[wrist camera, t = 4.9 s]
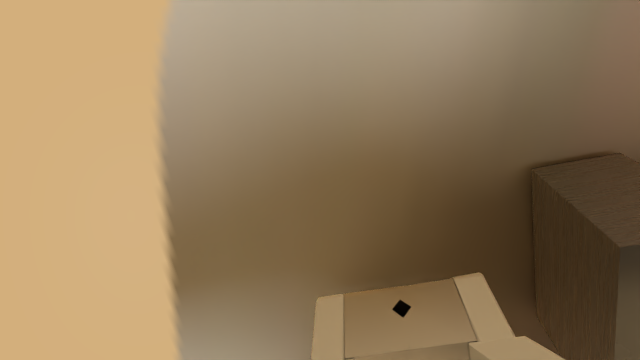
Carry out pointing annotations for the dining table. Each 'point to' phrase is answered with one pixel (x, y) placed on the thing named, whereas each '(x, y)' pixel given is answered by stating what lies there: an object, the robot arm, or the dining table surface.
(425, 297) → the robot arm
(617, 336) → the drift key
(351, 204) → the dining table surface
